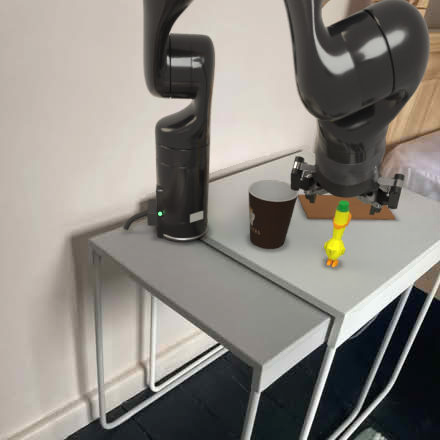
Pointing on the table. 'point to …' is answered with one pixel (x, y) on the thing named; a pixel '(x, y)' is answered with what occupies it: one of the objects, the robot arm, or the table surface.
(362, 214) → the placemat
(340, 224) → the toy figure
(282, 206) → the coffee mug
